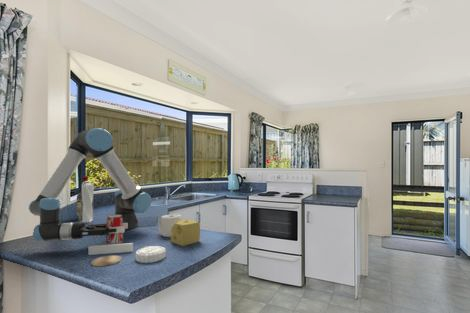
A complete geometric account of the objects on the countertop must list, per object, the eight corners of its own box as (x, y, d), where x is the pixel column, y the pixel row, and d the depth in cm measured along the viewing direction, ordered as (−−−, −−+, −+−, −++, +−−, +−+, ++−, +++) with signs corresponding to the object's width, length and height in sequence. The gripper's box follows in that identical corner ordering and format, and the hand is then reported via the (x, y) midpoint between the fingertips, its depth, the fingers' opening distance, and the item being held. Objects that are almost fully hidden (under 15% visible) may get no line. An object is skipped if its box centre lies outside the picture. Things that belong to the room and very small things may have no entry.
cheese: (170, 242, 133) (170, 222, 134) (188, 237, 141) (188, 218, 141) (182, 246, 126) (182, 225, 126) (200, 241, 134) (200, 221, 134)
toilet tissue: (182, 235, 144) (182, 217, 145) (159, 238, 141) (159, 218, 141) (180, 231, 155) (180, 213, 155) (158, 233, 151) (158, 215, 151)
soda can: (103, 245, 125) (102, 217, 126) (112, 240, 133) (112, 214, 133) (117, 245, 125) (117, 217, 125) (125, 240, 132) (125, 214, 132)
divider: (133, 250, 121) (132, 242, 121) (132, 251, 120) (132, 243, 120) (89, 254, 117) (89, 245, 117) (88, 254, 116) (88, 246, 116)
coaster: (116, 254, 116) (116, 253, 116) (125, 261, 108) (125, 260, 108) (88, 261, 109) (88, 260, 109) (95, 268, 101) (95, 267, 101)
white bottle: (82, 221, 185) (82, 180, 186) (95, 220, 187) (95, 180, 187) (78, 224, 177) (78, 181, 177) (91, 223, 178) (91, 181, 179)
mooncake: (153, 251, 121) (153, 243, 121) (171, 256, 114) (171, 247, 114) (129, 259, 111) (129, 250, 111) (147, 265, 104) (147, 256, 104)
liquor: (85, 216, 200) (85, 176, 201) (95, 217, 197) (95, 176, 198) (74, 219, 192) (74, 177, 192) (84, 220, 189) (84, 177, 189)
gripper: (81, 233, 135) (129, 230, 139) (64, 245, 116) (121, 241, 120) (80, 218, 135) (129, 215, 139) (64, 227, 116) (121, 224, 120)
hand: (125, 227), depth 130 cm, fingers closed on soda can, 6 cm apart
